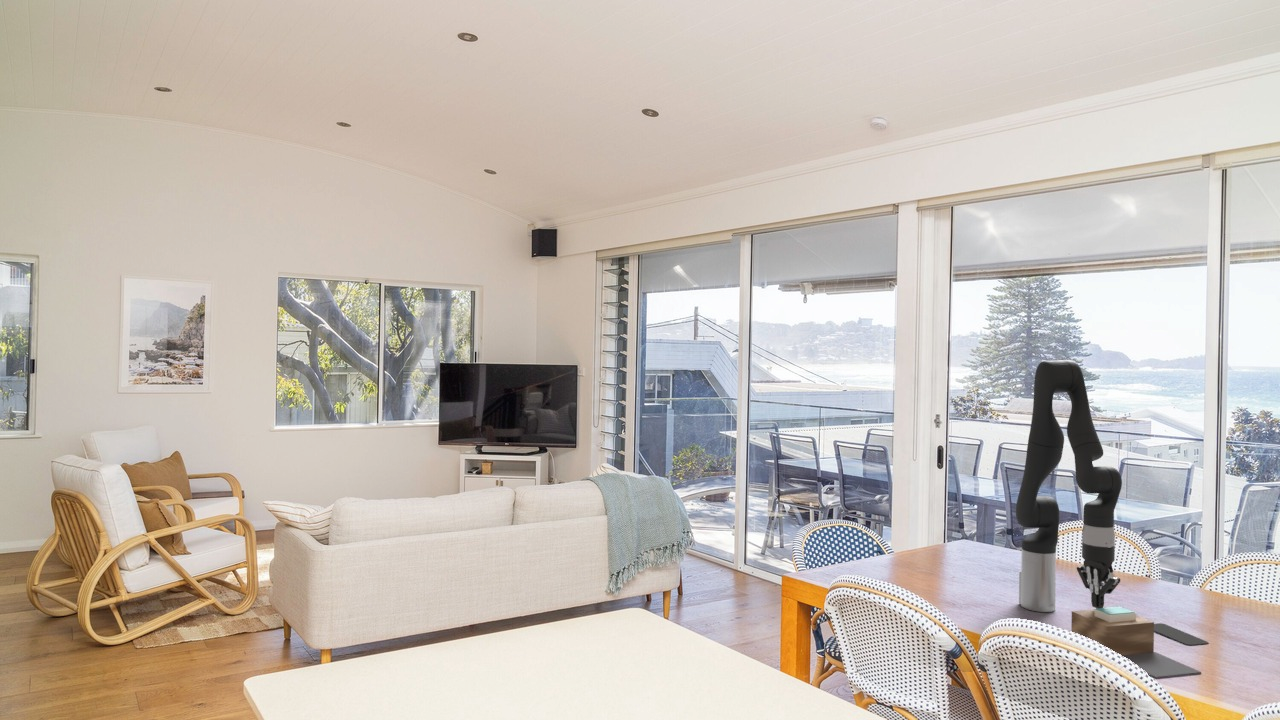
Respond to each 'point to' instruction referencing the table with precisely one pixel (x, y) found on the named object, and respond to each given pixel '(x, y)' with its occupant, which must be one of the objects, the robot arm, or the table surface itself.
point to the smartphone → (1178, 635)
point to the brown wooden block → (1116, 632)
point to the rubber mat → (1160, 665)
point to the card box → (1115, 614)
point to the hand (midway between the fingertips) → (1097, 607)
